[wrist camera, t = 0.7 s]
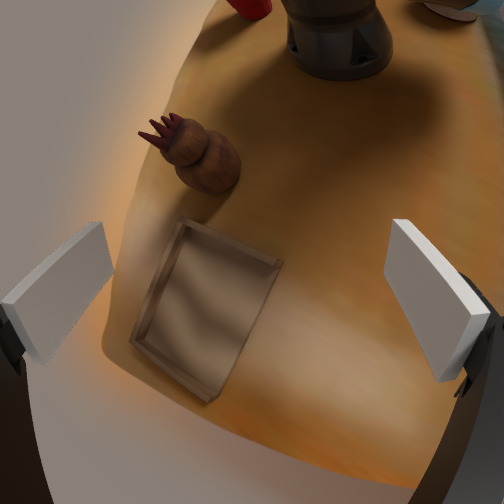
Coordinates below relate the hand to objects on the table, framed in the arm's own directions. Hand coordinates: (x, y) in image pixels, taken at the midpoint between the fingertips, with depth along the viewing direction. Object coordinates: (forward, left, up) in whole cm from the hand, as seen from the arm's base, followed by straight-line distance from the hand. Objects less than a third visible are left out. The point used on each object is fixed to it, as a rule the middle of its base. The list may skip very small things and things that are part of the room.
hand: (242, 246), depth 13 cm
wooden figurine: (-7, -16, -20) cm, 26 cm away
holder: (+8, -11, -19) cm, 24 cm away
